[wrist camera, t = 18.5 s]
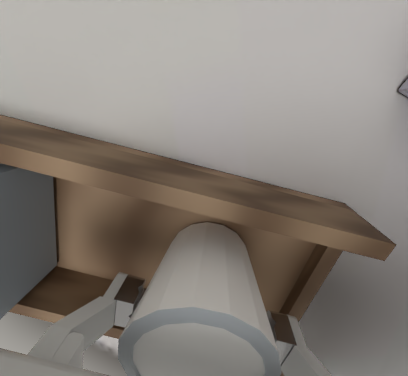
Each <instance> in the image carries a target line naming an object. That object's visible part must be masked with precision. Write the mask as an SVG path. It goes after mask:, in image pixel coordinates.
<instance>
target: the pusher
mask: <svg viewBox="0 0 408 376" xmlns="http://www.w3.org/2000/svg"><path fill="white" fill-rule="evenodd" d="M55 266H57V254H56V232H55V209H54V187H53V176H49V175H45V174H41V173H37V172H33V171H29V170H26V169H22V168H18V167H14V166H10V165H6V164H2V163H0V319H1V318H2V317H3V316H4V315H5V314H6V313H7V312H8V311H10V310H11V309H12V308H13V307H14V306H15V305H16V304H17V303H18V302H19V301H20V300H21V299H22V298H23V297H24V296H25V295H26V294H27V293H28V292H29V291H30V290H31V289H33V288H34V287H35V286H36V285H37V284H38V283H39V282H40V281H41V280H42V279H43V278H44V277H45V276H46V275H47V274H48V273H49V272H50V271H51V270H52V269H53V268H54V267H55Z"/></svg>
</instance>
